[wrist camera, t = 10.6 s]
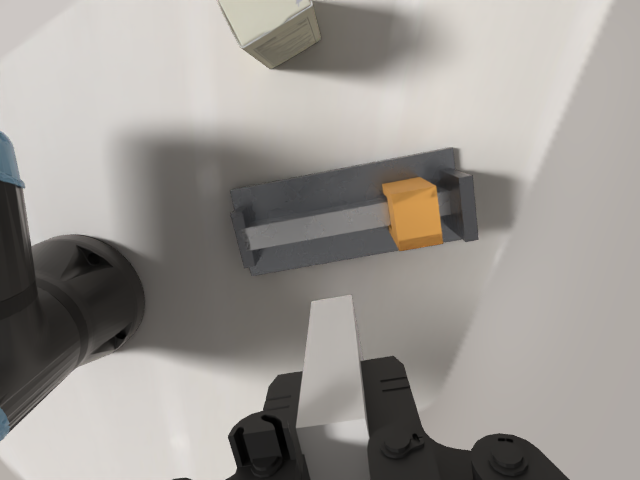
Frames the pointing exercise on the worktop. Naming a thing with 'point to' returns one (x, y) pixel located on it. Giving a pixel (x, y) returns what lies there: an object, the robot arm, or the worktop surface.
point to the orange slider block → (413, 213)
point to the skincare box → (272, 27)
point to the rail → (336, 195)
